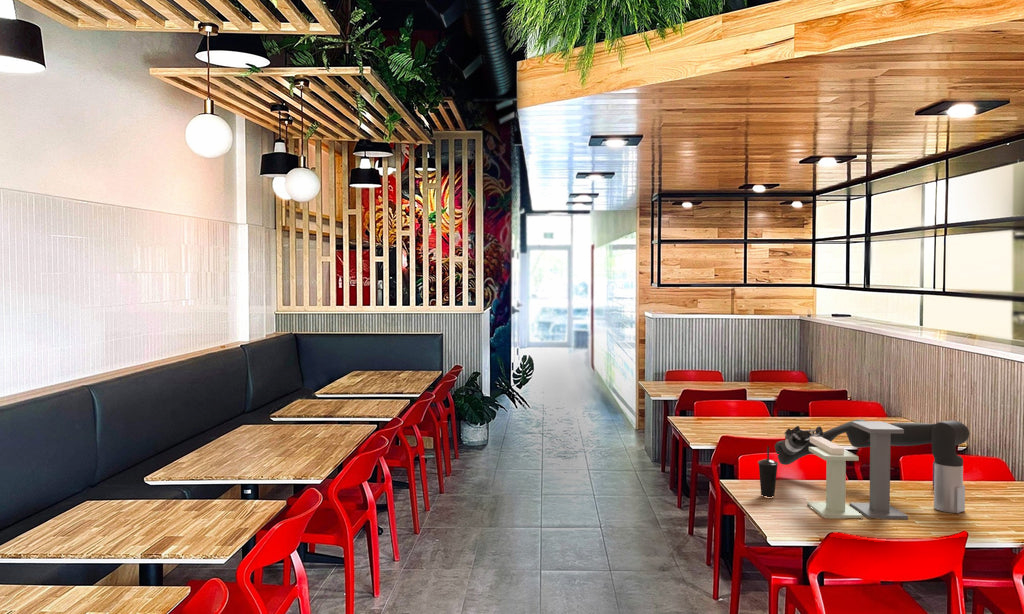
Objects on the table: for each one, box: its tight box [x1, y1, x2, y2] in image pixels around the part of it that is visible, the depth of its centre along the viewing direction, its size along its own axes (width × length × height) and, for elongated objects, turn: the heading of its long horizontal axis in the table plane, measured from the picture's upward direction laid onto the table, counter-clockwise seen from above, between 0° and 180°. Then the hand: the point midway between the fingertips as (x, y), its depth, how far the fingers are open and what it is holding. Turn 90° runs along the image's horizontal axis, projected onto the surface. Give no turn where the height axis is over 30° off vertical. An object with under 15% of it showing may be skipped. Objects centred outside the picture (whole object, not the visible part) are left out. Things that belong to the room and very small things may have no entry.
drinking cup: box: [757, 445, 779, 497], centre depth 292 cm, size 8×8×20 cm
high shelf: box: [849, 420, 909, 520], centre depth 272 cm, size 18×14×32 cm
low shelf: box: [807, 447, 864, 519], centre depth 273 cm, size 18×14×22 cm
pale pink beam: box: [810, 437, 845, 454], centre depth 280 cm, size 22×4×2 cm, turn 178°
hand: (809, 428), depth 297 cm, fingers open, 8 cm apart
